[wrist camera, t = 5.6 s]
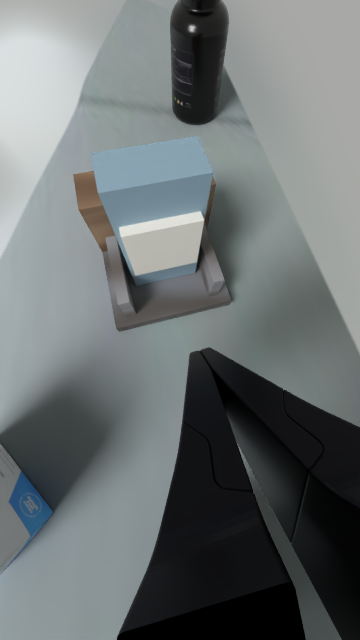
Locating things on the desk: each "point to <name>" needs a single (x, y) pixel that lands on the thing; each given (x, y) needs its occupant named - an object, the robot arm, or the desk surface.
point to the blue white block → (156, 204)
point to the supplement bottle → (197, 57)
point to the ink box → (17, 510)
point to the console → (156, 297)
